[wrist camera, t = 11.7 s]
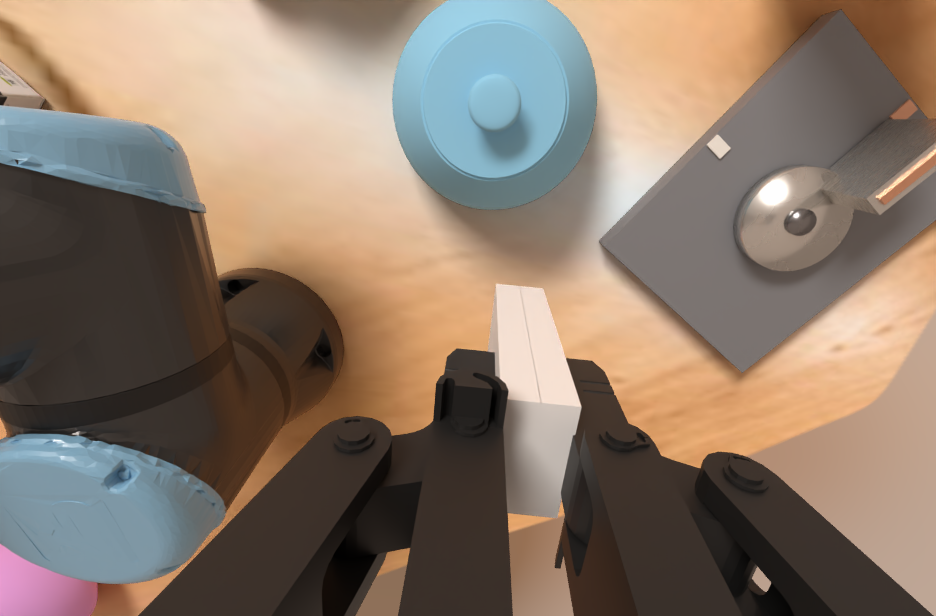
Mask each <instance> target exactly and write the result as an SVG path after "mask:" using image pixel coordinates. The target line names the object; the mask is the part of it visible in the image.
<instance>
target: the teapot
mask: <svg viewBox="0 0 936 616" xmlns="http://www.w3.org/2000/svg"><path fill="white" fill-rule="evenodd" d="M97 597H98V585H97V583H96V582H89V581H84V580H79V579H75V578H71V577H67V576H64V575H60V574H58V573H55V572H52V571H49V570H47V569H46V568H43V567H40V566H37V565H35V564H33V563H31V562H29V561H27V560H25V559H23V558H21V557H20V556H18V555H16V554H14V553H13V552H11V551H10V550H8V549H7V548H6V547H4V546H3V545H1V544H0V616H90V615H91V614H92V613H93V611H94V609H95V606H96V603H97Z"/></svg>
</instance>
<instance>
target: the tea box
mask: <svg viewBox="0 0 936 616" xmlns="http://www.w3.org/2000/svg"><path fill="white" fill-rule="evenodd" d="M44 101H45V99H44V98H43V97H42V96H41V95H39V94H38V93H37V92H35V91H34V90H33V89H32V88H31V87H30V86H29V85H27V84H26V83H25V82H24V81H23V80H22V79H21V78H20V77H19V76H18V75H16V74H15V73H14V72H13V71H12V70H11V69H9V68H8V67H7V66H5V65H4V64H3V63H2V62H1V61H0V105H2V106H12V107H22V108H33V109H40V108H41V106H42V104H43V102H44Z"/></svg>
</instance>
